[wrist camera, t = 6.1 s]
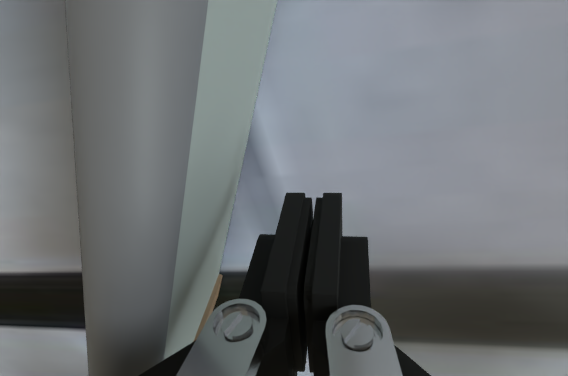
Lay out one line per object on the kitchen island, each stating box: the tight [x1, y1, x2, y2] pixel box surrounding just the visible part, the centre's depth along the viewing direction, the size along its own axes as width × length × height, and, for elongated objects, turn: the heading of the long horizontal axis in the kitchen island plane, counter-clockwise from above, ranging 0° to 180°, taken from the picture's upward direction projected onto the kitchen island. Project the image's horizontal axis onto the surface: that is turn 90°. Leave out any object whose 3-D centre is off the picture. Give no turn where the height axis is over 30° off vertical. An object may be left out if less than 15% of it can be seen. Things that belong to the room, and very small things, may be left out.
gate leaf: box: [65, 0, 278, 376], centre depth 11 cm, size 20×2×10 cm, turn 166°
